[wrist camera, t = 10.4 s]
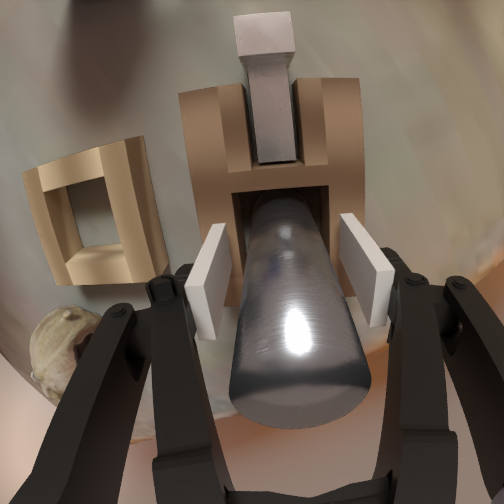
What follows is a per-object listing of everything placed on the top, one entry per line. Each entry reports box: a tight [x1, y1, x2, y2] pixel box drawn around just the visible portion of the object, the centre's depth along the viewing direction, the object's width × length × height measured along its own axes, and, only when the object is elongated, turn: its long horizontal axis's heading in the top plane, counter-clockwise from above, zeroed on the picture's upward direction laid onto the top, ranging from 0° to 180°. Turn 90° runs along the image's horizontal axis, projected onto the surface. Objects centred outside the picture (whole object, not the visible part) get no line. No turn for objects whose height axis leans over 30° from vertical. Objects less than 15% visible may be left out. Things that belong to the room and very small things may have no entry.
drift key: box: [233, 12, 296, 163], centre depth 15 cm, size 8×3×6 cm, turn 6°
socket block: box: [178, 78, 365, 306], centre depth 18 cm, size 14×10×4 cm
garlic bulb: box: [30, 305, 102, 402], centre depth 23 cm, size 9×8×10 cm
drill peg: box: [229, 188, 371, 429], centre depth 14 cm, size 4×4×15 cm
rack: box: [22, 136, 169, 286], centre depth 20 cm, size 10×10×3 cm
